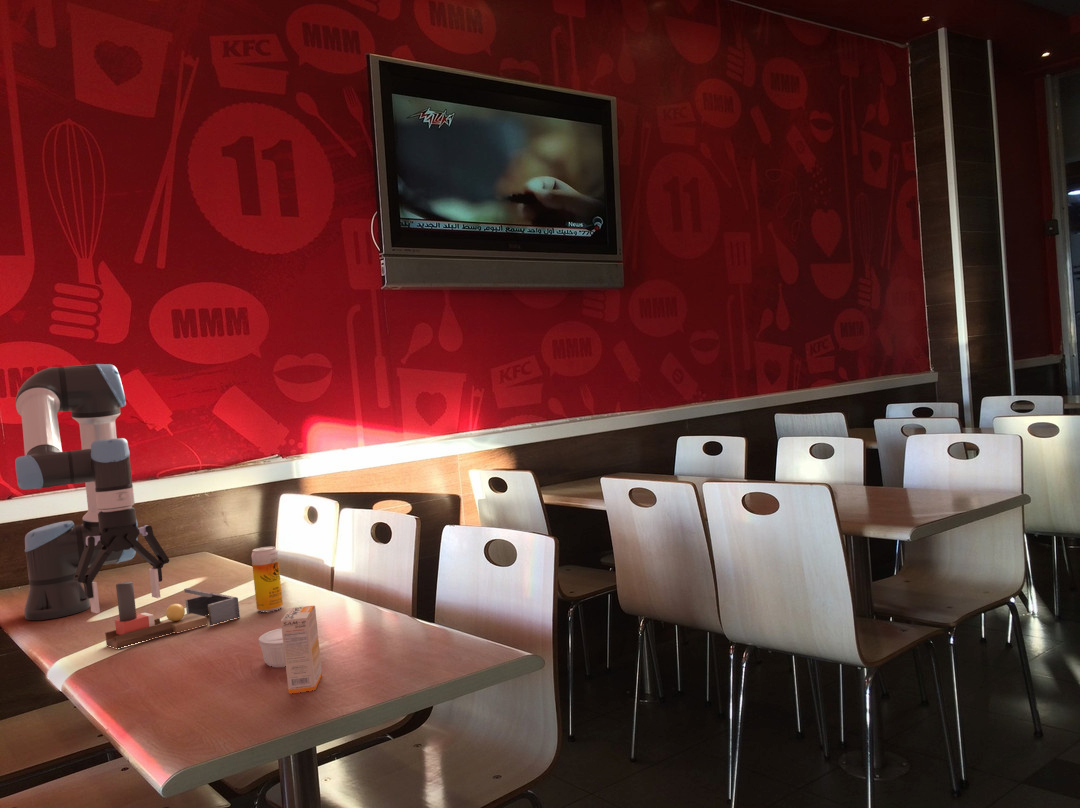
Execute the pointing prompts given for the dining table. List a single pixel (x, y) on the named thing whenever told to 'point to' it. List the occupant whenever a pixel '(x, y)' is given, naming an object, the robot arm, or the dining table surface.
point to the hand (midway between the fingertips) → (126, 604)
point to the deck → (187, 622)
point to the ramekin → (273, 648)
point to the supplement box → (301, 649)
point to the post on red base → (130, 611)
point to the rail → (138, 634)
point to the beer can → (267, 579)
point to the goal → (212, 606)
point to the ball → (175, 612)
